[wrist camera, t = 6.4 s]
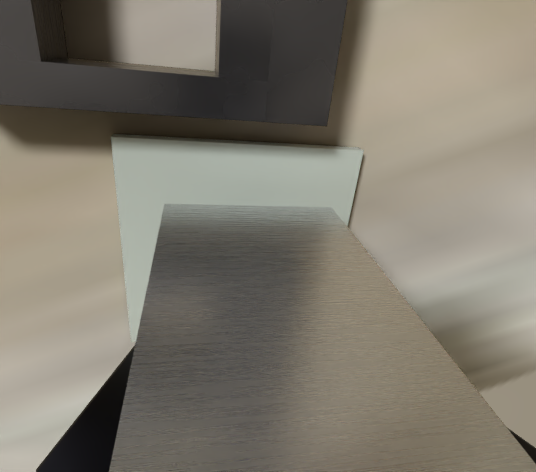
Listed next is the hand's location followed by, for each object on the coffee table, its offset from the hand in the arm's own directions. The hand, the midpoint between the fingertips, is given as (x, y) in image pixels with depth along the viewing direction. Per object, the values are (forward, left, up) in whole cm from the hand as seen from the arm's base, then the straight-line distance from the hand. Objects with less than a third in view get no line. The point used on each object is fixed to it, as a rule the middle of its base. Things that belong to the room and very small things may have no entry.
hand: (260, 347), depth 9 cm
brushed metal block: (0, 0, -3) cm, 3 cm away
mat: (0, 0, -5) cm, 5 cm away
